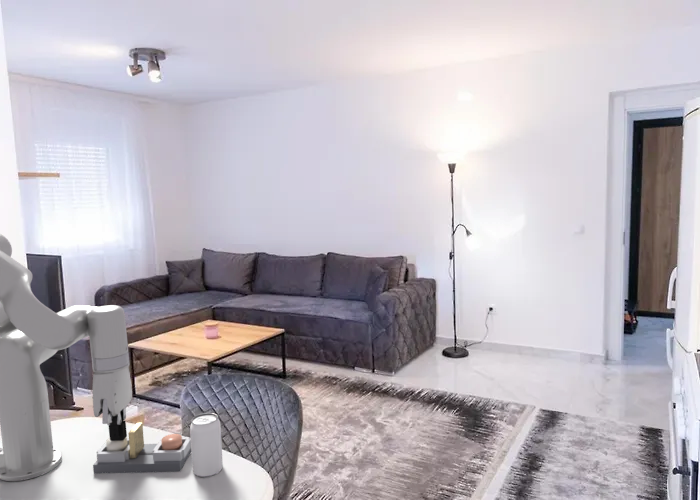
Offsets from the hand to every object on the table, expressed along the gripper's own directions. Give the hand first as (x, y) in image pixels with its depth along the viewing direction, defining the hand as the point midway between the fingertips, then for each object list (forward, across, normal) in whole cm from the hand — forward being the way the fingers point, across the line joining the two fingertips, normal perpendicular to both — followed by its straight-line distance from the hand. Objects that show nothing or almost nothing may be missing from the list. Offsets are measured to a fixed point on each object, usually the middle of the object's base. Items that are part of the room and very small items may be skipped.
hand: (118, 438), depth 120 cm
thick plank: (+4, 0, +4) cm, 5 cm away
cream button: (+2, 0, -1) cm, 2 cm away
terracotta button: (+2, 0, +12) cm, 12 cm away
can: (+6, +4, +21) cm, 22 cm away
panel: (+6, 0, +5) cm, 8 cm away
